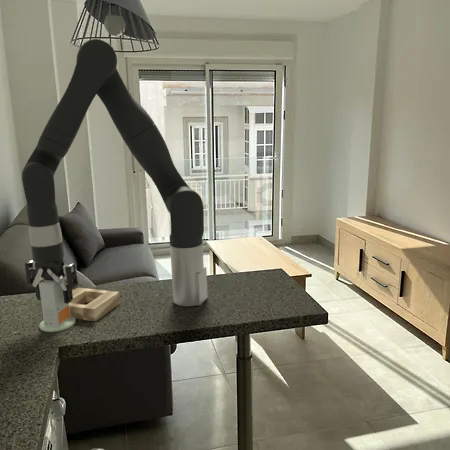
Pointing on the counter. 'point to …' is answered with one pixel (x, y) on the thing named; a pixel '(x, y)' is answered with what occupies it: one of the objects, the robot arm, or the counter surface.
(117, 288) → the counter surface
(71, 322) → the coaster
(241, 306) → the counter surface
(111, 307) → the pocket block
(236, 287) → the counter surface
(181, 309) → the counter surface
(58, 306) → the skincare box
